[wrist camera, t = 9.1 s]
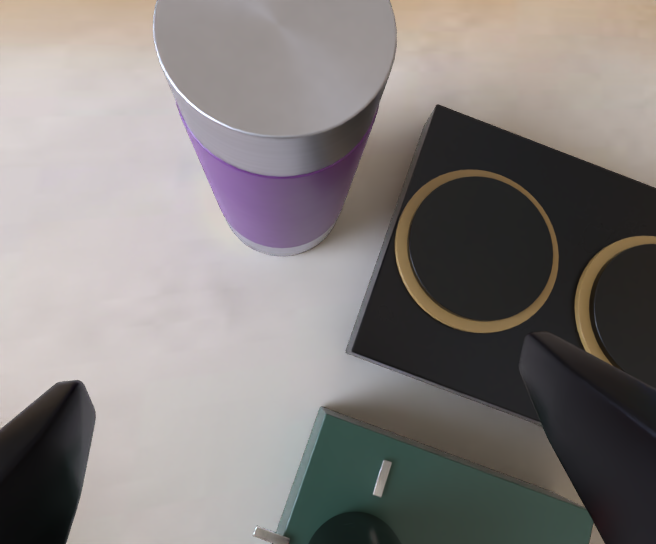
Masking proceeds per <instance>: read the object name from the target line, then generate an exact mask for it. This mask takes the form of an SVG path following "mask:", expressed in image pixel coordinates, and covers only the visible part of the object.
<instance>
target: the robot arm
mask: <svg viewBox="0 0 656 544" xmlns="http://www.w3.org/2000/svg"><path fill="white" fill-rule="evenodd" d="M519 371H520V374H521V376H522V379H523V381H524V384H525V386H526V388H527V391H528V393H529V396H530V398H531V400H532V403H533V405H534V408H535V410H536V412H537V415H538V417H539V420H540V422H541V424H542V427H543V429H544V431H545V433H546V436H547V438H548V440H549V442H550V444H551V445H552V447H553V449H554V451H555V453H556V455H557V457H558V458H559V460H560V462H561V464H562V466H563V467H564V469H565V471H566V473H567V475H568V477H569V478H570V480H571V482H572V484H573V486H574V488H575V489H576V491H577V493H578V495H579V497H580V499H581V500H582V502H583V504H584V506H585V508H586V509H587V511H588V513H589V515H590V517H591V519H592V520H593V522H594V524H595V526H596V528H597V530H598V531H599V533H600V535H601V537H602V539H603V540H604V542H605V544H656V389H655V388H654V387H652V386H650V385H648V384H646V383H644V382H642V381H640V380H639V379H637V378H635V377H633V376H631V375H629V374H627V373H626V372H624V371H622V370H620V369H618V368H616V367H614V366H612V365H611V364H609V363H607V362H605V361H603V360H601V359H599V358H597V357H596V356H594V355H592V354H590V353H588V352H586V351H584V350H582V349H581V348H579V347H577V346H575V345H573V344H571V343H569V342H567V341H566V340H564V339H562V338H560V337H558V336H556V335H554V334H552V333H551V332H548V331H537V332H530V333H528V334H527V335H526V336H525V338H524V342H523V346H522V350H521V354H520V358H519ZM95 418H96V415H95V409H94V406H93V404H92V402H91V399H90V397H89V395H88V392H87V390H86V388H85V385H84V384H83V383H82V382H81V381H79V380H73V381H64V382H59V383H56V384H55V385H54V386H52V387H51V388H50V389H49V390H47V391H46V392H45V393H44V394H43V395H41V396H40V397H39V398H38V399H37V400H35V401H34V402H33V403H32V404H31V405H29V406H28V407H27V408H26V409H25V410H23V411H22V412H21V413H20V414H18V415H17V416H16V417H15V418H14V419H12V420H11V421H10V422H9V423H8V424H6V425H5V426H4V427H3V428H2V429H0V544H66V542H67V539H68V536H69V532H70V529H71V526H72V523H73V520H74V516H75V513H76V510H77V506H78V503H79V499H80V496H81V491H82V487H83V482H84V477H85V472H86V467H87V461H88V456H89V451H90V446H91V441H92V436H93V430H94V425H95Z"/></svg>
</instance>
